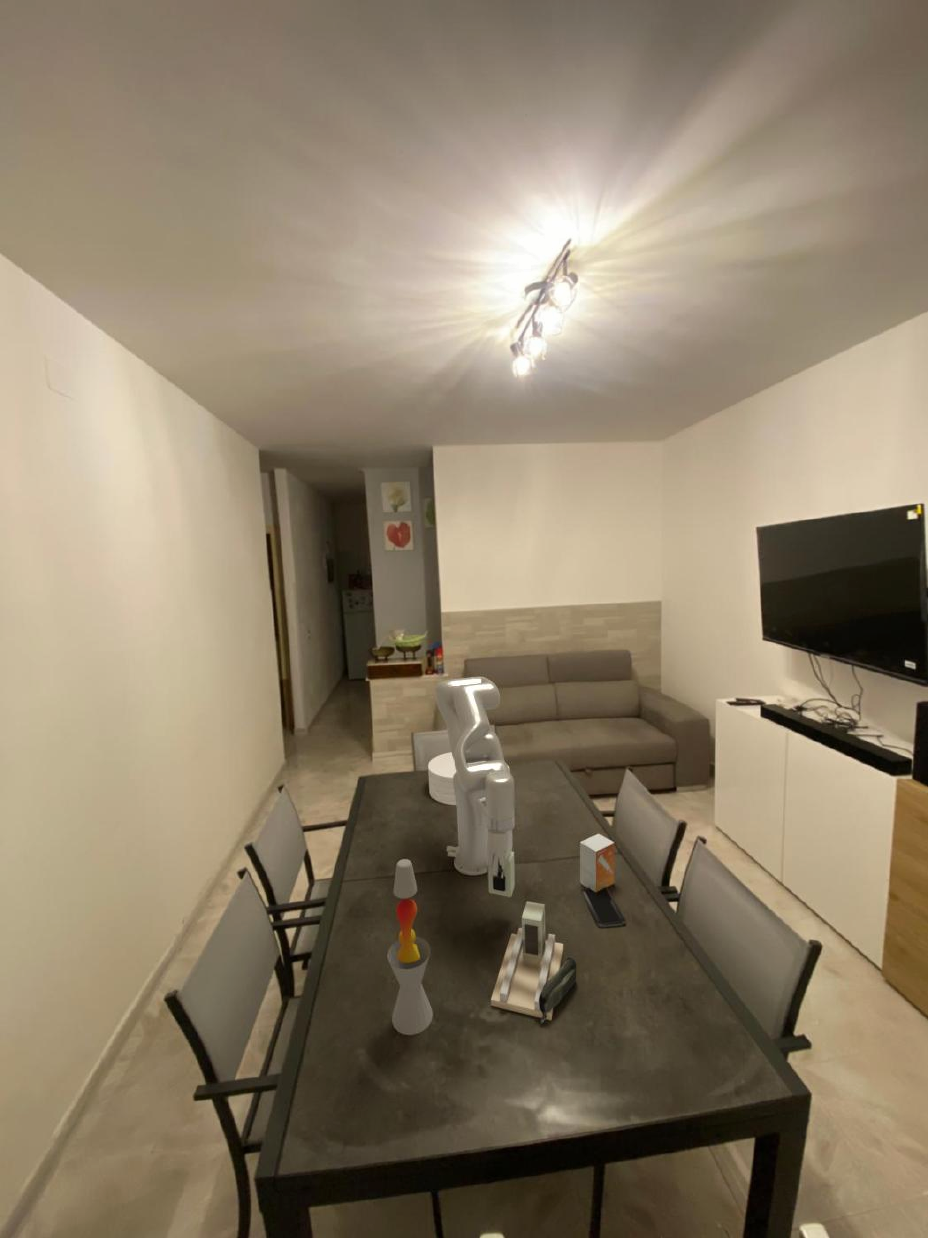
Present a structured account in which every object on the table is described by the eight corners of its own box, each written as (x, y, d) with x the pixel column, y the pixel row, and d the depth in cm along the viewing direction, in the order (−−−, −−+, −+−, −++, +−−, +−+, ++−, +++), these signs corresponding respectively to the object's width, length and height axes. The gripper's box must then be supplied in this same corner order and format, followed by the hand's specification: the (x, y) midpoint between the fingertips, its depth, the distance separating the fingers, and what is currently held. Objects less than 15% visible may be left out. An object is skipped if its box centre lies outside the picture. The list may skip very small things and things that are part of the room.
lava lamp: (438, 1028, 104) (430, 870, 100) (394, 1041, 102) (384, 880, 98) (428, 993, 113) (420, 846, 109) (388, 1004, 110) (379, 855, 106)
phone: (597, 925, 130) (580, 888, 145) (597, 929, 131) (580, 892, 145) (627, 923, 131) (607, 886, 146) (627, 927, 131) (607, 889, 146)
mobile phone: (567, 953, 116) (533, 997, 105) (579, 960, 114) (545, 1005, 103) (566, 973, 117) (532, 1018, 105) (578, 980, 115) (544, 1027, 103)
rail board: (551, 1020, 105) (550, 970, 104) (491, 1005, 109) (489, 957, 108) (563, 949, 124) (562, 906, 123) (511, 939, 128) (510, 897, 127)
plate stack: (428, 778, 225) (426, 753, 224) (489, 773, 228) (489, 748, 227) (430, 808, 197) (429, 780, 196) (501, 802, 200) (500, 774, 199)
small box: (596, 894, 143) (595, 852, 142) (579, 883, 149) (579, 842, 147) (615, 884, 148) (615, 842, 146) (598, 873, 153) (598, 832, 152)
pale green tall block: (510, 897, 131) (510, 862, 130) (486, 892, 133) (486, 857, 132) (514, 886, 136) (514, 851, 134) (491, 881, 138) (490, 848, 136)
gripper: (494, 802, 141) (495, 862, 143) (477, 835, 125) (479, 902, 127) (521, 805, 138) (521, 866, 141) (506, 840, 122) (508, 908, 125)
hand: (501, 882), depth 134 cm, fingers closed on pale green tall block, 4 cm apart
